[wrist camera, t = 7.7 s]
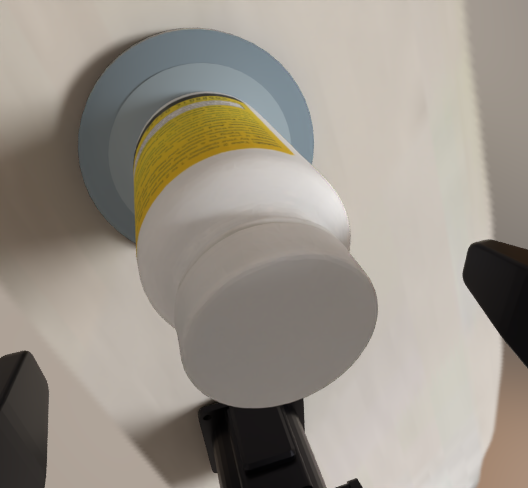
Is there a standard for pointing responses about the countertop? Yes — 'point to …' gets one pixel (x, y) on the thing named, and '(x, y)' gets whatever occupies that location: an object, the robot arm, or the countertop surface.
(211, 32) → the dish
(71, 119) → the countertop surface
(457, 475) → the countertop surface
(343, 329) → the supplement bottle
